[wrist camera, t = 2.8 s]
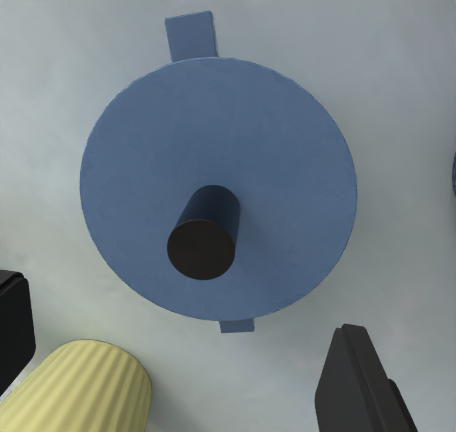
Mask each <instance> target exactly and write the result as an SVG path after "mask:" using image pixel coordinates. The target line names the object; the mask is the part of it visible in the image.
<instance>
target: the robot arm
mask: <svg viewBox="0 0 456 432" xmlns="http://www.w3.org/2000/svg"><path fill="white" fill-rule="evenodd" d="M35 350H36V343H35V335H34V326H33V318H32V309H31V300H30V292H29V283H28V280H27V279H26V278H24V275H23V274H22V273H20V272H14V271H8V270H0V397H1V395H2V394H3V393H4V392H5V391H6V389H7V388H8V387H9V386H10V385H11V383H12V382H13V381H14V380H15V379H16V377H17V376H18V375H19V374H20V372H21V371H22V370H23V369H24V368H25V366H26V365H27V364H28V363H29V362H30V360H31V359H32V358H33V356H34V353H35ZM315 409H316V415H317V420H318V426H319V432H418V431H417V428H416V426H415V424H414V422H413V420H412V417H411V415H410V413H409V411H408V409H407V407H406V404H405V402H404V400H403V398H402V396H401V393H400V391H399V389H398V387H397V385H396V384H395V382H394V381H393V380H391V379H388V378H387V376H386V373H385V371H384V369H383V367H382V364H381V362H380V360H379V357H378V355H377V353H376V351H375V348H374V346H373V344H372V341H371V339H370V337H369V335H368V332H367V330H366V329H365V327H362V326H356V325H350V324H343V326H342V327H341V328H336V329H335V332H334V335H333V338H332V341H331V345H330V348H329V351H328V354H327V358H326V361H325V364H324V367H323V371H322V374H321V377H320V380H319V384H318V387H317V390H316V394H315Z"/></svg>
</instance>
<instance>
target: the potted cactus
mask: <svg viewBox="0 0 456 432" xmlns="http://www.w3.org/2000/svg"><path fill="white" fill-rule="evenodd" d="M150 401H151V382H150V379H149V376H148V374H147V372H146V371H145V369H144V368H143V366H142V365H141V364H140V363H139V362H138V361H137V360H136V359H135V358H134V357H133V356H131V355H130V354H129V353H127V352H126V351H124V350H122V349H120V348H118V347H116V346H114V345H111V344H108V343H105V342H101V341H95V340H77V341H73V342H69V343H66V344H64V345H62V346H60V347H58V348H57V349H56V350H55V351H54V352H53V353H51V354H50V355H49V356H48V357H47V358H46V359H45V360H44V361H43V362H42V363H40V364H39V365H38V366H37V367H36V368H35V369H34V370H33V371H32V372H31V373H30V374H29V375H28V376H27V377H26V378H25V379H24V380H23V381H22V382H21V383H20V384H19V385H18V386H17V387H16V388H15V389H14V390H13V391H12V392H11V393H10V394H9V395H8V396H7V397H6V398H5V399H4V400H3V401H2V402H1V403H0V432H145V429H146V424H147V418H148V412H149V407H150Z"/></svg>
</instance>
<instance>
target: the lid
mask: <svg viewBox="0 0 456 432" xmlns="http://www.w3.org/2000/svg"><path fill="white" fill-rule="evenodd" d="M80 196H81V205H82V210H83V214H84V218H85V222H86V225H87V227H88V230H89V232H90V235H91V237H92V239H93V241H94V243H95V245H96V247H97V249H98V251H99V252H100V254H101V255H102V257H103V258H104V260H105V261H106V262H107V264H108V265H109V266H110V268H111V269H112V270H113V271H114V272H115V273H116V274H117V276H118V277H119V278H120V279H121V280H123V281H124V282H125V283H126V284H127V285H128V286H129V287H130V288H132V289H133V290H134V291H136V292H137V293H138V294H140V295H141V296H143V297H144V298H146V299H148V300H149V301H151V302H153V303H154V304H156V305H158V306H160V307H163V308H165V309H167V310H169V311H172V312H175V313H178V314H181V315H184V316H188V317H193V318H197V319H203V320H213V321H236V320H245V319H251V318H255V317H260V316H264V315H267V314H270V313H273V312H276V311H278V310H280V309H282V308H285V307H287V306H289V305H291V304H293V303H294V302H296V301H297V300H299V299H301V298H302V297H304V296H305V295H307V294H308V293H309V292H310V291H311V290H313V289H314V288H315V287H316V286H317V285H318V284H319V283H320V282H321V281H322V280H323V279H324V278H325V277H326V276H327V275H328V274H329V273H330V271H331V270H332V268H333V267H334V266H335V264H336V263H337V262H338V260H339V258H340V256H341V255H342V253H343V251H344V249H345V247H346V245H347V242H348V240H349V237H350V234H351V232H352V229H353V224H354V219H355V215H356V206H357V183H356V174H355V170H354V165H353V160H352V157H351V154H350V152H349V149H348V146H347V143H346V141H345V139H344V137H343V135H342V133H341V132H340V130H339V128H338V126H337V124H336V123H335V121H334V120H333V119H332V117H331V116H330V115H329V113H328V112H327V111H326V110H325V108H324V107H323V106H322V105H321V104H320V103H319V102H318V101H317V100H316V99H315V98H314V97H313V96H312V95H311V94H310V93H309V92H308V91H306V90H305V89H303V88H302V87H301V86H299V85H298V84H297V83H295V82H294V81H293V80H291V79H289V78H287V77H285V76H284V75H282V74H280V73H278V72H276V71H274V70H272V69H269V68H266V67H264V66H261V65H258V64H255V63H252V62H247V61H243V60H238V59H233V58H219V57H205V58H194V59H187V60H183V61H179V62H174V63H170V64H167V65H165V66H162V67H160V68H157V69H155V70H152V71H150V72H149V73H147V74H145V75H143V76H142V77H140V78H138V79H137V80H135V81H133V82H132V83H131V84H130V85H128V86H127V87H126V88H125V89H123V90H122V91H121V92H120V93H119V94H118V95H117V96H116V97H115V98H114V99H113V100H112V101H111V102H110V103H109V105H108V106H107V107H106V108H105V109H104V111H103V112H102V114H101V115H100V117H99V118H98V120H97V121H96V123H95V125H94V127H93V129H92V131H91V134H90V136H89V138H88V140H87V144H86V147H85V150H84V153H83V158H82V164H81V170H80Z"/></svg>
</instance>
